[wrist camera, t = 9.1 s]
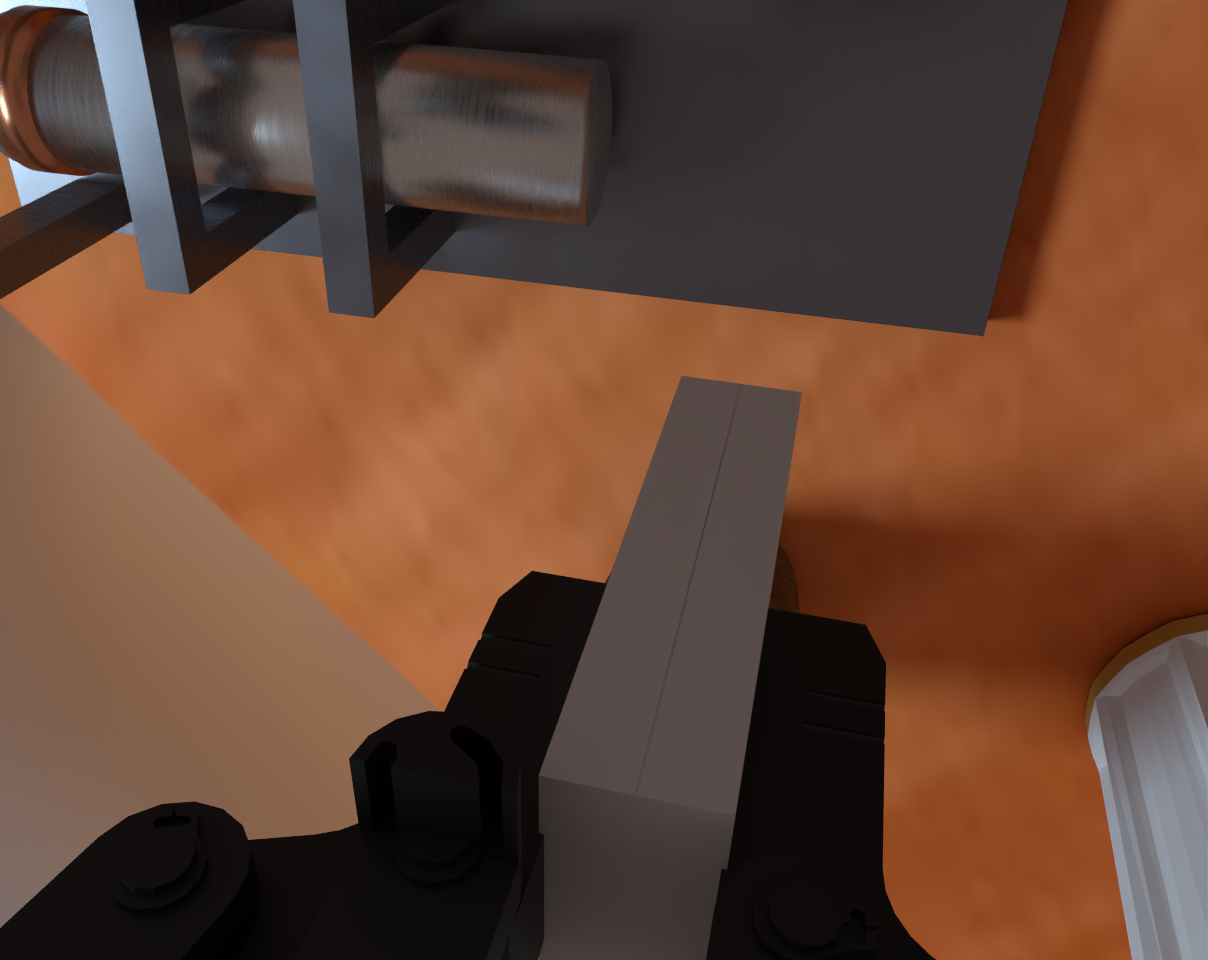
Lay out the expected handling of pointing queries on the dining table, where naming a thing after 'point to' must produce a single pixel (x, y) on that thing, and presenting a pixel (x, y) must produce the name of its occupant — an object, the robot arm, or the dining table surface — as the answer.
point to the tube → (279, 125)
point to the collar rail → (636, 163)
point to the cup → (1157, 785)
